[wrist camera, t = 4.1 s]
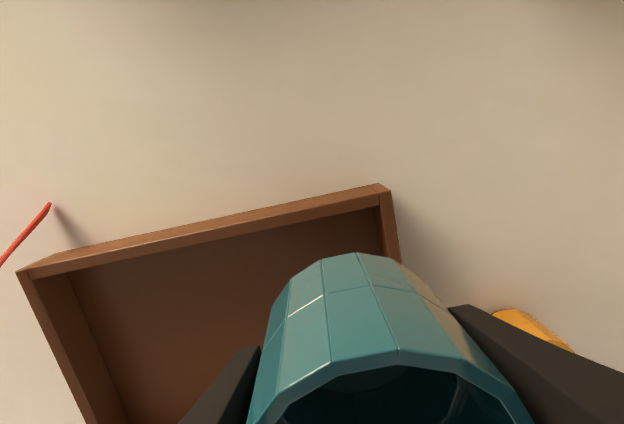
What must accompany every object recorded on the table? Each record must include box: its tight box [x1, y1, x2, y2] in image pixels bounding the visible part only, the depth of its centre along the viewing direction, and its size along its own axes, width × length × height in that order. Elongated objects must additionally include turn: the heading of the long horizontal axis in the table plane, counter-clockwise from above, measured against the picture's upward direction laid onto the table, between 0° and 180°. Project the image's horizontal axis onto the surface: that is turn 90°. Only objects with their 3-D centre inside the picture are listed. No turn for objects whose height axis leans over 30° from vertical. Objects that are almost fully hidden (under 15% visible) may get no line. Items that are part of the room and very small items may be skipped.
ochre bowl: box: [491, 309, 574, 353], centre depth 17 cm, size 4×4×3 cm
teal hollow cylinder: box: [246, 252, 536, 424], centre depth 8 cm, size 6×6×5 cm
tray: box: [15, 183, 403, 424], centre depth 17 cm, size 18×13×2 cm
